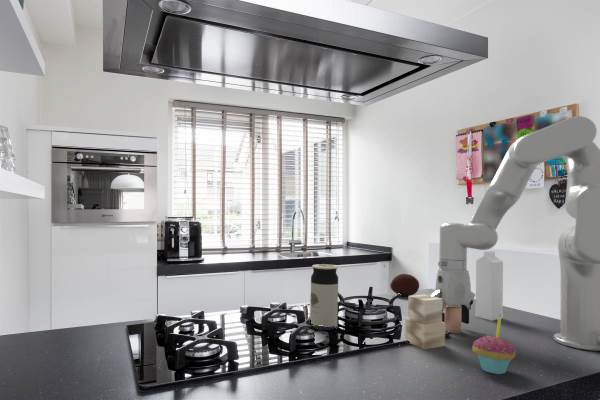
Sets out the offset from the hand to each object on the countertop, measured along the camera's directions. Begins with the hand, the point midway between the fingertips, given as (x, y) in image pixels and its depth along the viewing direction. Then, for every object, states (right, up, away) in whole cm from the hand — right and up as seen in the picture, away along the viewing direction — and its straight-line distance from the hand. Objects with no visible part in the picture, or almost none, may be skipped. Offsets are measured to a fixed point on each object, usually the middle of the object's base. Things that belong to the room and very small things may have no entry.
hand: (451, 324), depth 118 cm
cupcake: (-2, -1, -30) cm, 30 cm away
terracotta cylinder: (0, -2, 0) cm, 2 cm away
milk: (+19, -3, +17) cm, 25 cm away
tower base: (-12, -1, -12) cm, 17 cm away
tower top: (-12, +5, -12) cm, 18 cm away
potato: (-1, -4, +50) cm, 50 cm away
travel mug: (-38, -1, 0) cm, 38 cm away
